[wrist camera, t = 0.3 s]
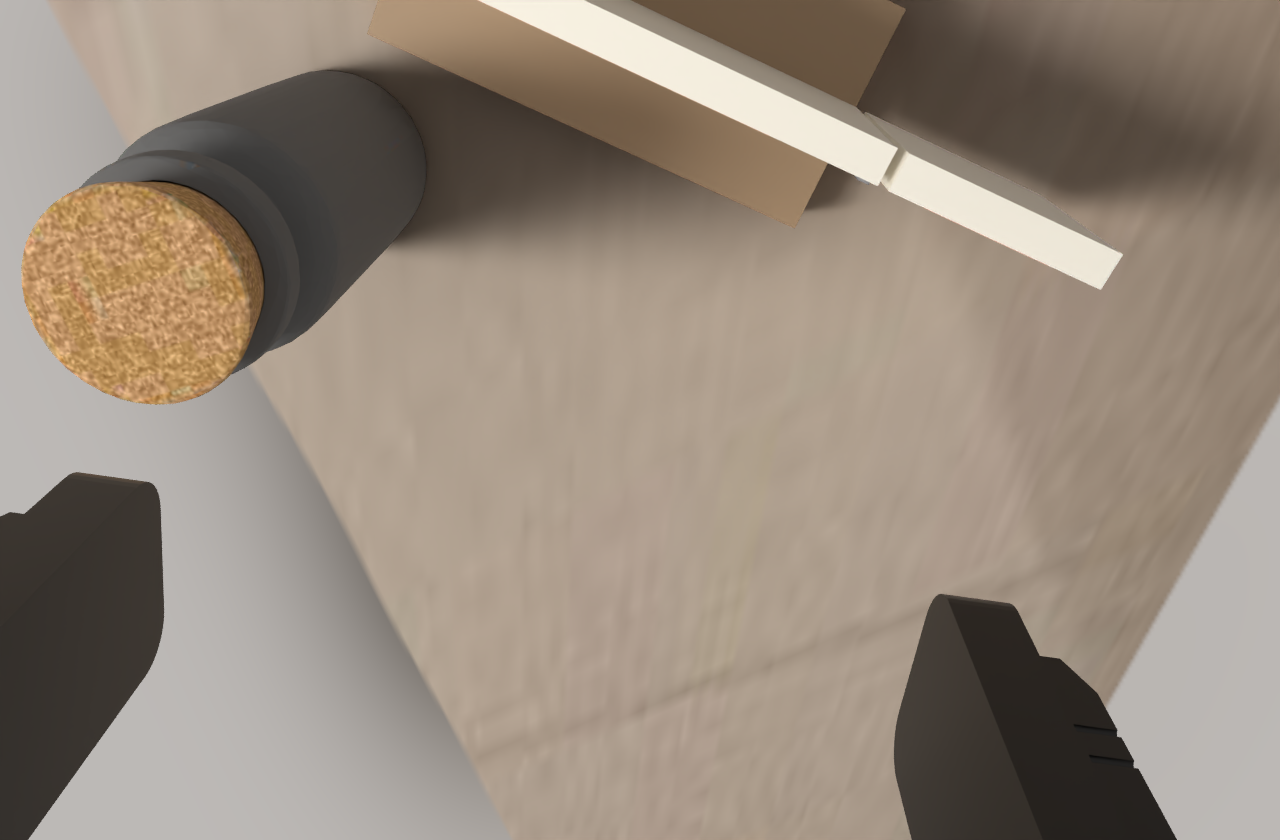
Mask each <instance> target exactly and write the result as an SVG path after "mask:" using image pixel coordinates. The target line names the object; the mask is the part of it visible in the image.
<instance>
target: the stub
mask: <svg viewBox="0 0 1280 840" xmlns="http://www.w3.org/2000/svg"><path fill="white" fill-rule="evenodd" d="M864 115H865V116H866V117H867V118H868V119H869V120H870V121H871V122H872V123H873V124H874V125H875V126H876V127H877V128H878V129H879V130H880V131H881V132H882V133H883V134H884V135H885V136H886V137H887V138H888V139H889V140H890V141H891V142H892V143H893V144H894V145H895V146H896V147H897V148H898V149H897V151H896V153H895V155H894V157H893V158H892V160H891V162H890V164H889V166H888V168H887V170H886V172H885V174H884V175H883V177H882V179H881V182H882V184H883V185H884V186H885V187H886V189H887V190H888V191H889V192H891V193H894V194H896V195H898V196H900V197H902V198H904V199H906V200H909V201H911V202H913V203H915V204H917V205H919V206H921V207H923V208H925V209H927V210H929V211H931V212H934V213H936V214H938V215H940V216H942V217H944V218H946V219H949V220H951V221H953V222H955V223H957V224H959V225H961V226H964V227H966V228H968V229H970V230H972V231H974V232H977V233H979V234H981V235H983V236H985V237H987V238H989V239H992V240H994V241H996V242H998V243H1000V244H1002V245H1004V246H1007V247H1009V248H1011V249H1013V250H1015V251H1017V252H1020V253H1022V254H1024V255H1026V256H1028V257H1030V258H1032V259H1035V260H1037V261H1039V262H1041V263H1043V264H1045V265H1048V266H1050V267H1053V268H1055V269H1057V270H1059V271H1061V272H1063V273H1066V274H1068V275H1070V276H1072V277H1074V278H1076V279H1078V280H1081V281H1083V282H1085V283H1087V284H1089V285H1091V286H1093V287H1096V288H1098V289H1100V290H1101V288H1102V287H1103V285H1104V284H1105V282H1106V281H1107V279H1108V277H1109V276H1110V274H1111V273H1112V271H1113V270H1114V268H1115V266H1116V265H1117V263H1118V262H1119V260H1120V258H1121V257H1122V255H1123V254H1122V253H1121V252H1119V251H1118V250H1116V249H1115V248H1114V247H1112V246H1111V245H1110V244H1108V243H1107V242H1105V241H1104V240H1103V239H1101V238H1100V237H1098V236H1097V235H1096V234H1094V233H1093V232H1092V231H1090V230H1089V229H1087V228H1086V227H1085V226H1083V225H1082V224H1080V223H1079V222H1078V221H1076V220H1075V219H1074V218H1072V217H1071V216H1069V215H1068V214H1067V213H1065V212H1064V211H1062V210H1061V209H1060V208H1058V207H1057V206H1056V205H1054V204H1053V203H1051V202H1050V201H1049V200H1047V199H1046V198H1044V197H1043V196H1042V195H1040V194H1038V193H1036V192H1034V191H1032V190H1030V189H1028V188H1026V187H1023V186H1021V185H1019V184H1017V183H1015V182H1013V181H1011V180H1009V179H1007V178H1004V177H1002V176H1000V175H998V174H996V173H994V172H992V171H990V170H988V169H985V168H983V167H981V166H979V165H977V164H975V163H973V162H971V161H969V160H966V159H964V158H962V157H960V156H958V155H956V154H954V153H952V152H950V151H948V150H945V149H943V148H941V147H939V146H937V145H935V144H933V143H931V142H929V141H926V140H924V139H922V138H920V137H918V136H916V135H914V134H912V133H910V132H907V131H905V130H903V129H901V128H899V127H897V126H895V125H893V124H891V123H888V122H886V121H884V120H882V119H880V118H878V117H876V116H874V115H872V114H870V113H867V112H865V113H864Z"/></svg>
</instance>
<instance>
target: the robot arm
mask: <svg viewBox="0 0 1280 840" xmlns="http://www.w3.org/2000/svg"><path fill="white" fill-rule="evenodd" d="M160 509H161V508H160V500H159V495H158V492H157V489H156V488H155V486H154V485H153V484H152V483H149V482H144V481H137V480H129V479H122V478H115V477H107V476H100V475H93V474H86V473H79V472H76V473H72V474H70V475H68V476H67V477H66V478H64V479H63V480H62V481H61V482H60V483H59V484H58V485H56V486H55V487H54V488H53V489H52V490H51V491H50V492H49V493H48V494H46V495H45V496H44V497H43V498H42V499H41V500H40V501H39V502H37V503H36V504H35V505H34V506H33V507H32V508H31V509H30V510H28V511H27V512H26V513H25V514H20V513H12V512H10V513H7V514H5V515H3V516H0V840H28V839H29V837H30V836H31V835H32V833H33V832H34V830H35V829H36V828H37V826H38V825H39V824H40V822H41V820H42V819H43V818H44V816H45V815H46V814H47V812H48V811H49V810H50V808H51V807H52V805H53V804H54V803H55V801H56V800H57V798H58V797H59V796H60V794H61V793H62V791H63V790H64V789H65V787H66V786H67V785H68V783H69V782H70V780H71V779H72V778H73V776H74V775H75V773H76V772H77V771H78V769H79V768H80V766H81V765H82V763H83V762H84V761H85V759H86V758H87V757H88V755H89V754H90V752H91V751H92V749H93V748H94V747H95V746H96V744H97V742H98V741H99V740H100V739H101V737H102V736H103V734H104V733H105V731H106V730H107V729H108V727H109V726H110V725H111V723H112V722H113V720H114V719H115V718H116V716H117V715H118V713H119V712H120V710H121V709H122V708H123V706H124V705H125V704H126V702H127V701H128V700H129V698H130V697H131V695H132V694H133V693H134V691H135V690H136V688H137V687H138V686H139V684H140V683H141V681H142V680H143V679H144V677H145V676H146V674H147V673H148V671H149V669H150V667H151V665H152V663H153V661H154V658H155V656H156V653H157V650H158V647H159V643H160V639H161V635H162V629H163V621H164V596H163V566H162V538H161V510H160ZM1133 763H1134V760H1133V758H1132V756H1131V754H1130V752H1129V751H1128V749H1127V747H1126V745H1125V743H1124V741H1123V740H1122V738H1121V737H1117V728H1116V727H1115V725H1114V723H1113V721H1112V719H1111V717H1110V716H1109V714H1108V712H1107V710H1106V708H1105V706H1104V705H1103V703H1102V701H1101V699H1100V697H1099V695H1098V694H1097V692H1095V691H1094V690H1093V689H1092V688H1091V687H1090V686H1089V685H1088V684H1087V683H1086V682H1085V681H1084V680H1082V679H1081V678H1080V677H1079V676H1078V675H1077V674H1076V673H1075V672H1074V671H1073V670H1072V669H1071V668H1069V667H1068V666H1067V665H1066V664H1065V663H1064V662H1063V661H1062V660H1061V659H1058V658H1051V657H1043V656H1039V654H1038V651H1037V649H1036V647H1035V645H1034V643H1033V641H1032V639H1031V637H1030V635H1029V633H1028V631H1027V629H1026V627H1025V625H1024V623H1023V621H1022V619H1021V617H1020V615H1019V613H1018V611H1017V609H1016V608H1015V607H1014V606H1013V605H1012V604H1010V603H1003V602H996V601H989V600H981V599H974V598H967V597H960V596H952V595H945V594H939V595H937V596H936V597H935V598H934V599H933V601H932V603H931V605H930V607H929V610H928V613H927V616H926V619H925V623H924V626H923V630H922V633H921V637H920V640H919V644H918V647H917V651H916V654H915V658H914V661H913V665H912V668H911V672H910V675H909V679H908V682H907V686H906V689H905V693H904V696H903V700H902V703H901V707H900V710H899V714H898V719H897V724H896V731H895V741H894V765H895V774H896V779H897V783H898V787H899V791H900V795H901V799H902V803H903V807H904V811H905V815H906V819H907V823H908V827H909V830H910V834H911V838H912V840H1177V839H1176V837H1175V835H1174V834H1173V832H1172V830H1171V828H1170V826H1169V824H1168V823H1167V821H1166V819H1165V817H1164V815H1163V813H1162V811H1161V809H1160V808H1159V806H1158V804H1157V802H1156V800H1155V798H1154V797H1153V795H1152V793H1151V791H1150V789H1149V787H1148V786H1147V784H1146V782H1145V780H1144V778H1143V776H1142V774H1141V773H1140V771H1139V769H1136V768H1134V766H1133Z"/></svg>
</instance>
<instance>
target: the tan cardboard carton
mask: <svg viewBox="0 0 1280 840" xmlns="http://www.w3.org/2000/svg"><path fill="white" fill-rule="evenodd" d="M905 10H906V9H905V8H903V7H901V6H899V5H897V4H895V3H893V2H891V1H889V0H378V2H377V5H376V8H375V11H374V14H373V17H372V21H371V24H370V27H369V30H368V33H367V34H368V35H370V36H373V37H375V38H377V39H379V40H381V41H384V42H386V43H388V44H390V45H392V46H395V47H397V48H399V49H401V50H403V51H406V52H408V53H410V54H412V55H414V56H417V57H419V58H421V59H423V60H425V61H428V62H430V63H432V64H434V65H436V66H439V67H441V68H443V69H445V70H447V71H450V72H452V73H454V74H456V75H458V76H461V77H463V78H465V79H467V80H469V81H472V82H474V83H476V84H478V85H480V86H483V87H485V88H487V89H489V90H491V91H494V92H496V93H498V94H500V95H502V96H505V97H507V98H509V99H511V100H513V101H516V102H518V103H520V104H522V105H524V106H527V107H529V108H531V109H533V110H535V111H538V112H540V113H542V114H544V115H546V116H549V117H551V118H553V119H555V120H557V121H560V122H562V123H564V124H566V125H568V126H571V127H573V128H575V129H577V130H579V131H582V132H584V133H586V134H588V135H590V136H593V137H595V138H597V139H599V140H601V141H604V142H606V143H608V144H610V145H612V146H615V147H617V148H619V149H621V150H623V151H626V152H628V153H630V154H632V155H634V156H637V157H639V158H641V159H643V160H645V161H648V162H650V163H652V164H654V165H656V166H659V167H661V168H663V169H665V170H667V171H670V172H672V173H674V174H676V175H678V176H681V177H683V178H685V179H687V180H689V181H692V182H694V183H696V184H698V185H700V186H703V187H705V188H707V189H709V190H711V191H714V192H716V193H718V194H720V195H722V196H725V197H727V198H729V199H731V200H733V201H736V202H738V203H740V204H742V205H744V206H747V207H749V208H751V209H753V210H755V211H758V212H760V213H762V214H764V215H766V216H769V217H771V218H773V219H775V220H777V221H780V222H782V223H784V224H786V225H788V226H791V227H793V228H795V227H796V225H797V223H798V221H799V219H800V217H801V215H802V213H803V211H804V209H805V207H806V205H807V203H808V201H809V199H810V197H811V195H812V193H813V191H814V189H815V187H816V185H817V183H818V181H819V180H820V178H821V176H822V174H823V172H824V170H825V168H826V166H827V164H828V163H829V164H831V165H833V166H835V167H838V168H840V169H842V170H844V171H846V172H848V173H851V174H853V175H854V176H855V177H856V178H857V180H859V181H861V182H863V183H865V184H868V185H869V183H872V184H874V185H876V186H878V185H879V183H880V181H881V179H882V177H883V175H884V174H885V172H886V170H887V168H888V166H889V164H890V162H891V160H892V158H893V157H894V155H895V153H896V151H897V149H898V148H897V147H896V146H895V145H894V144H893V143H892V142H891V141H890V140H889V139H888V138H887V137H886V136H885V135H884V134H883V133H882V132H881V131H880V130H879V129H878V128H877V127H876V126H875V125H874V124H873V123H872V122H871V121H870V120H869V119H868V118H867V117H866V116H865V115H864V114H863V113H862V112H861V111H860V110H859V109H858V108H857V105H858V103H859V101H860V99H861V97H862V95H863V93H864V91H865V89H866V87H867V85H868V83H869V81H870V79H871V77H872V75H873V73H874V71H875V69H876V67H877V65H878V63H879V61H880V59H881V58H882V56H883V54H884V52H885V50H886V48H887V46H888V44H889V42H890V40H891V38H892V36H893V34H894V32H895V30H896V28H897V26H898V24H899V22H900V20H901V18H902V16H903V14H904V12H905Z"/></svg>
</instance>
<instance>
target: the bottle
mask: <svg viewBox="0 0 1280 840" xmlns="http://www.w3.org/2000/svg"><path fill="white" fill-rule="evenodd" d="M425 181H426V158H425V152H424V147H423V144H422V141H421V138H420V135H419V133H418V131H417V128H416V126H415V124H414V122H413V121H412V119H411V118H410V116H409V115H408V113H407V112H406V111H405V110H404V108H403V107H402V106H401V105H400V103H399V102H398V101H397V100H396V99H395V98H394V97H393V96H391V95H390V94H389V93H388V92H386V91H385V90H384V89H382V88H381V87H379V86H378V85H376V84H375V83H373V82H371V81H369V80H367V79H364V78H361V77H359V76H356V75H353V74H350V73H345V72H339V71H315V72H308V73H305V74H301V75H297V76H294V77H291V78H288V79H285V80H282V81H280V82H277V83H274V84H271V85H268V86H265V87H262V88H259V89H257V90H254V91H251V92H249V93H246V94H243V95H241V96H238V97H235V98H232V99H230V100H227V101H224V102H222V103H219V104H216V105H213V106H211V107H208V108H205V109H203V110H200V111H197V112H195V113H192V114H189V115H187V116H185V117H182V118H180V119H177V120H175V121H172V122H170V123H167V124H165V125H163V126H160V127H158V128H156V129H154V130H152V131H151V132H149V133H147V134H145V135H144V136H142V137H140V138H139V139H138V140H137V141H136V142H134V143H133V144H132V145H131V146H130V147H128V148H127V149H126V150H125V151H124V152H123V154H122V155H121V156H120V157H119V159H118V161H116V162H114V163H112V164H110V165H108V166H106V167H104V168H103V169H101V170H100V171H98V172H97V173H95V174H94V175H93V176H91V177H90V178H89V179H88V180H87V181H86V182H85V183H84V184H83V185H82V186H81V187H80V188H79V189H77V190H75V191H73V192H71V193H69V194H67V195H65V196H64V197H62V198H61V199H59V200H58V201H56V202H55V203H53V204H52V205H51V206H50V207H49V208H48V209H47V211H46V212H45V213H44V214H43V215H42V216H41V217H40V218H39V220H38V221H37V223H36V224H35V226H34V228H33V229H32V231H31V233H30V236H29V238H28V240H27V242H26V246H25V249H24V254H23V260H22V287H23V293H24V299H25V303H26V306H27V308H28V311H29V314H30V316H31V319H32V322H33V325H34V326H35V328H36V330H37V331H38V333H39V335H40V336H41V338H42V339H43V341H44V342H45V344H46V345H47V347H48V348H49V349H50V351H51V352H52V354H53V355H54V356H55V357H56V358H57V359H58V360H59V361H60V362H61V363H62V364H63V365H64V366H65V367H66V368H67V369H69V370H70V371H71V372H72V373H74V374H75V375H76V376H78V377H79V378H80V379H82V380H83V381H85V382H86V383H88V384H89V385H91V386H93V387H95V388H97V389H99V390H100V391H102V392H104V393H107V394H110V395H112V396H115V397H117V398H120V399H123V400H127V401H132V402H136V403H146V404H174V403H178V402H183V401H186V400H189V399H193V398H196V397H199V396H201V395H203V394H205V393H207V392H209V391H211V390H212V389H213V388H215V387H216V386H218V385H219V384H221V383H222V382H223V381H224V380H225V379H227V378H228V377H229V376H230V374H233V373H235V372H237V371H239V370H241V369H243V368H245V367H247V366H248V365H250V364H252V363H253V362H255V361H256V360H257V359H259V358H260V357H261V356H262V355H263V354H264V353H266V352H267V351H271V350H273V349H276V348H278V347H281V346H283V345H285V344H287V343H290V342H292V341H293V340H295V339H296V338H297V337H299V336H300V335H302V334H303V333H304V332H306V331H307V330H308V329H309V328H311V327H312V326H313V325H314V324H315V323H316V322H317V321H318V320H319V319H320V318H321V317H322V316H323V315H324V314H325V313H326V312H327V311H328V310H329V309H330V308H331V307H332V306H333V305H334V304H335V302H336V301H337V300H338V299H339V298H340V297H341V296H342V295H343V294H344V293H345V292H346V291H347V290H348V289H349V288H350V287H351V285H352V284H353V283H354V282H355V281H356V280H357V279H358V278H359V277H360V276H361V275H362V274H363V273H364V272H365V271H366V270H367V269H368V267H369V266H370V265H371V264H372V263H373V262H374V261H375V260H376V259H377V258H378V257H379V256H380V255H381V254H382V253H383V252H384V250H385V249H386V248H387V247H388V246H389V245H390V244H391V243H392V242H393V241H394V239H395V238H396V237H397V236H398V235H399V234H400V232H401V231H402V230H403V229H404V228H405V226H406V225H407V224H408V223H409V221H410V220H411V219H412V217H413V216H414V214H415V212H416V210H417V208H418V207H419V204H420V202H421V199H422V196H423V193H424V189H425Z"/></svg>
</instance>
